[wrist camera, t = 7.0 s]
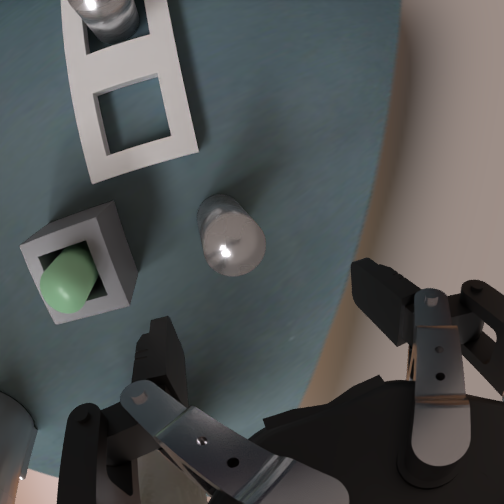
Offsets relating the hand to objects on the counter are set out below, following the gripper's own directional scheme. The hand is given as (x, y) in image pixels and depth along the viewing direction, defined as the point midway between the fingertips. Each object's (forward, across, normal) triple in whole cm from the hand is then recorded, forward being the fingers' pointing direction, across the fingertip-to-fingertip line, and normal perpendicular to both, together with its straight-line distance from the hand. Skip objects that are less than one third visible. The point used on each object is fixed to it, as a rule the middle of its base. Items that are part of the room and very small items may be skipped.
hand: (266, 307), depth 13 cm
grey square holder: (+15, +12, 0) cm, 20 cm away
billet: (+15, 0, 0) cm, 16 cm away
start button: (+13, +12, -1) cm, 18 cm away
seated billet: (+15, +5, -20) cm, 25 cm away
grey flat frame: (+15, +5, -15) cm, 22 cm away
